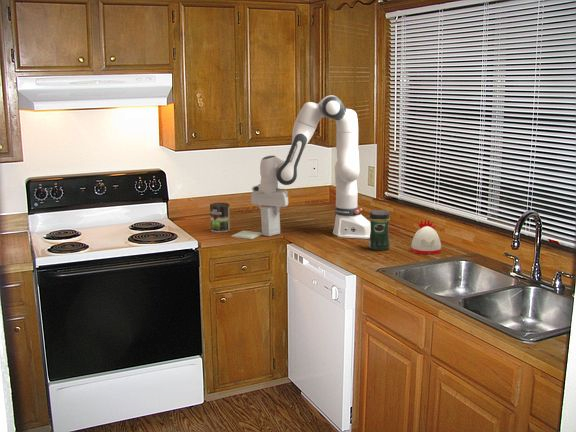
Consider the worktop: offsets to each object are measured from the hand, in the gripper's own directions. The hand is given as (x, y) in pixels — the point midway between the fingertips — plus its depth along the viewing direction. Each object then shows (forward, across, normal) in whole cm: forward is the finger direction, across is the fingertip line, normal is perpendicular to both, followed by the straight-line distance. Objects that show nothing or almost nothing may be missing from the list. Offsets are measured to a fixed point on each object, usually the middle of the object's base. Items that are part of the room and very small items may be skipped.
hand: (269, 214), depth 336 cm
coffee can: (+11, +29, +2) cm, 31 cm away
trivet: (+11, +10, +6) cm, 16 cm away
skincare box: (+11, 0, 0) cm, 11 cm away
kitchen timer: (+12, -81, -4) cm, 82 cm away
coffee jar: (+12, -60, +2) cm, 61 cm away
